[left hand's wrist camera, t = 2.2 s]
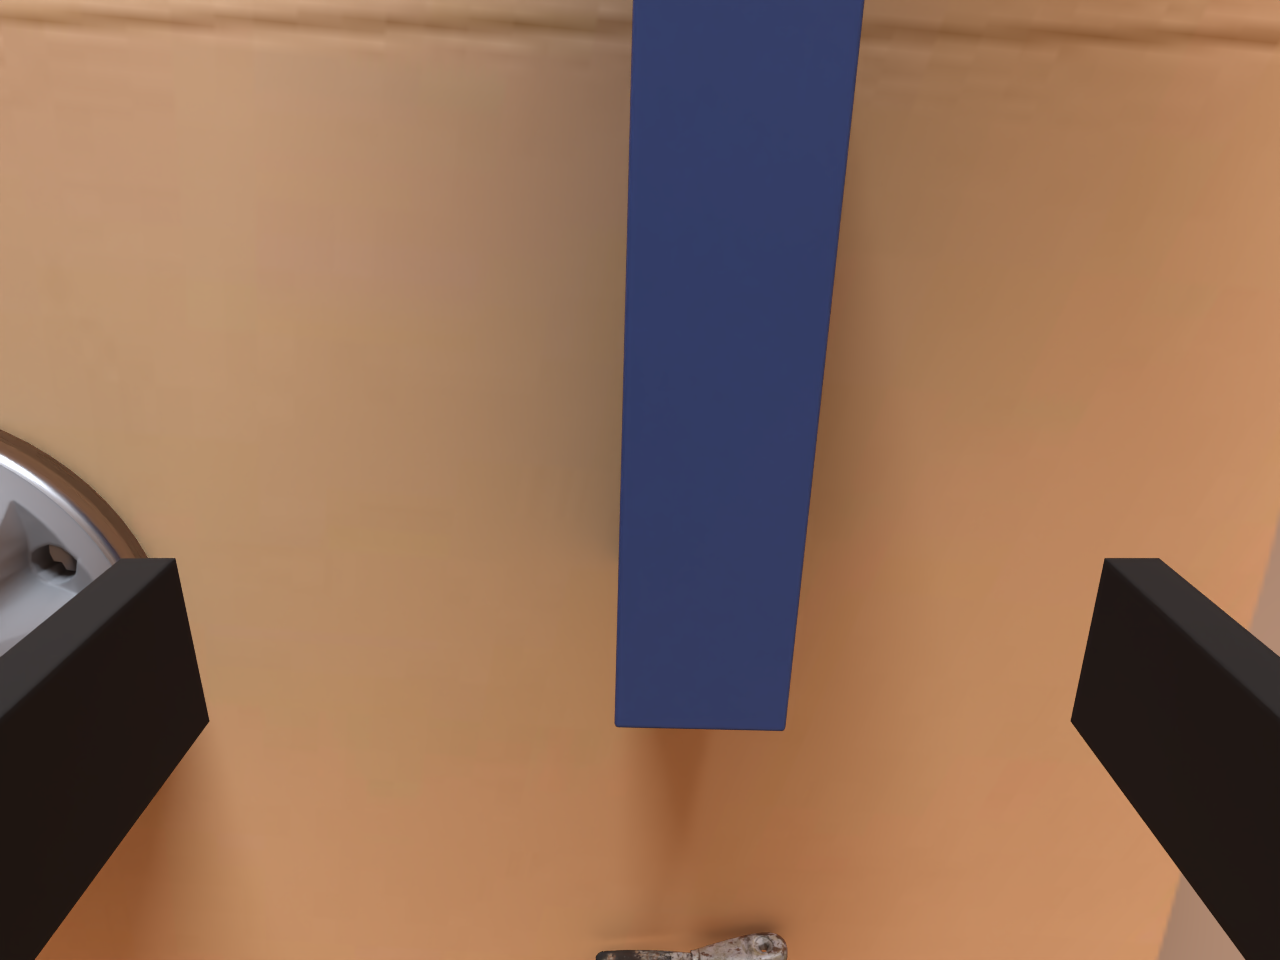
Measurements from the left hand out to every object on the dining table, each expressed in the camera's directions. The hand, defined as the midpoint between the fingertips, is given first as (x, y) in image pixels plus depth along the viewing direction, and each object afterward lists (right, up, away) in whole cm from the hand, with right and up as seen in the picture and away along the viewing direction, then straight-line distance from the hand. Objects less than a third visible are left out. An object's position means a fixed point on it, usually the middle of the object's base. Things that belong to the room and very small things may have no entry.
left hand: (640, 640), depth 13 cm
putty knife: (+2, -17, +25) cm, 30 cm away
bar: (+2, +10, +15) cm, 18 cm away
